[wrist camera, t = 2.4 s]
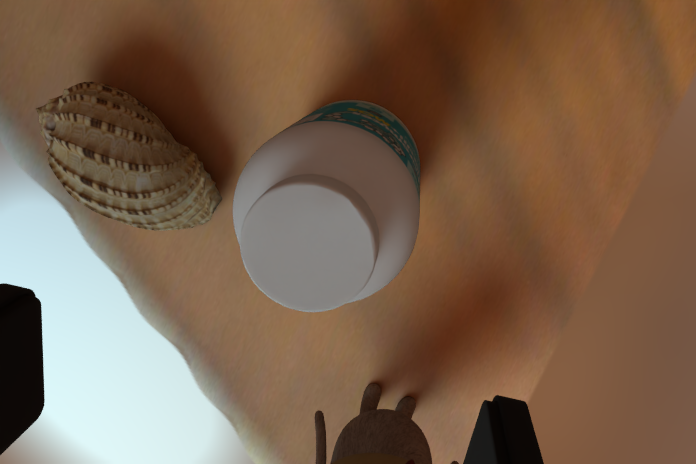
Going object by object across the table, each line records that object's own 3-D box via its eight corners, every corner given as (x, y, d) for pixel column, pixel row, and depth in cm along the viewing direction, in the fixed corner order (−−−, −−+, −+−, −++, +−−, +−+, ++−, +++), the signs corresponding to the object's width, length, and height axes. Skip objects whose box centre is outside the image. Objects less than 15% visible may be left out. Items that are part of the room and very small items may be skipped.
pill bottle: (445, 183, 30) (463, 287, 18) (339, 248, 32) (286, 382, 20) (371, 68, 28) (332, 92, 16) (264, 144, 31) (155, 219, 18)
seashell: (230, 104, 33) (46, 61, 29) (242, 132, 28) (22, 83, 24) (205, 217, 36) (34, 191, 32) (212, 261, 31) (10, 236, 27)
